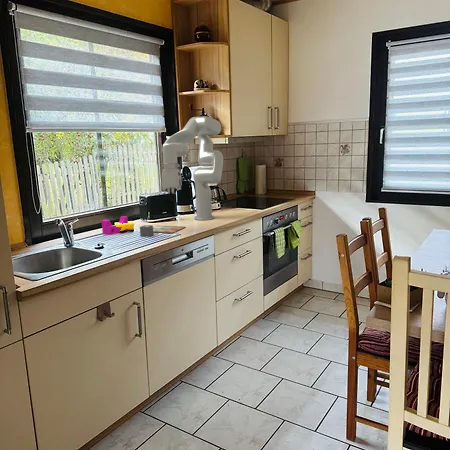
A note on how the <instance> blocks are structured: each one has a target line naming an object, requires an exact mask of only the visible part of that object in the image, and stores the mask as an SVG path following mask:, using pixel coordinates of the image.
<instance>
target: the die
mask: <svg viewBox="0 0 450 450" xmlns="http://www.w3.org/2000/svg"><path fill="white" fill-rule="evenodd" d="M153 227H154V225H151V224H149V225H148V224H144V225H141V226H139V233H140V234H139V235H140V237H146V236H148V238H149V237H151V236H154V234H155V233H153Z"/></svg>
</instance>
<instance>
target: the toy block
mask: <svg viewBox="0 0 450 450" xmlns="http://www.w3.org/2000/svg"><path fill="white" fill-rule="evenodd" d="M118 223H122V224H123V223H128V224H129V218H128V216H123V215H122V216H120V217H119V221H118ZM101 227H102V228H101V229H102V235H107V236H110V235H115V234H118V233H121V232H120V230H121V228H122V227H116V225H115V224H114V225H113V224H112V223H111V219H102V220H101Z"/></svg>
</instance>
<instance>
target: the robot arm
mask: <svg viewBox="0 0 450 450" xmlns="http://www.w3.org/2000/svg"><path fill="white" fill-rule="evenodd" d="M221 131H222V125H221V122H220V121H219V120H217V119H215V118H212V117H211V116H205V115H204V116H203V115H202V116H193V117H191V118H190V119H189V120H188V121H187V123H186V124H185V126H184V127H183V128H182V129H181V130H180V131H178V132H176V133H174V134H172V135H171V136H169V137H168V138H167V139H166V140H165V141H164V143H163V144H162V149H161V151H162V161H163V165H162V166H163V169H162V172H161V186H162V190H163V191H166V192H167V194H168V199H169V201H170V202H173V201H176V193H177V192H178V191H179V190H182V184H183V183H182V175H181V170H180V167H181V165H180V164H179V163H178V157H179V158H180V157H181V158H182V157H184V156H186V155H187V154H188V152H189V147H188V145H187V144H188V143H191V142H192V141H194V140H195V139H196V137H197V138H198V142H199V148H198V155H197V163H198V165H199V166H201V167H199V168H196V169H194V171H193V173H192V174H193V175H192V177H193V181H194V186H195V187H194V189H195V205H196V216H194V220H197V221H209V220H214V219H215V216H214V215H213V212H214V211H213V210H212V207H213V206H212V190H211V188H210V185H209V184H211V185H213V184H219V183H220V182H221V181H222V175H223V166H224V156H223V153H222V152H221V151H220V150H214V141H213V140H212V139H211V137H210V136H216V135H217V136H218V135H219V134H220V133H221Z"/></svg>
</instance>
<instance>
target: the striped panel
mask: <svg viewBox="0 0 450 450" xmlns="http://www.w3.org/2000/svg"><path fill="white" fill-rule="evenodd" d="M186 227H187V226H182V225H181V226H179V225H178V226H177V225H153V234H159V233H162V234H161V235H173V234H175V233H178V232H179V231H181V230H184V229H186Z"/></svg>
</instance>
